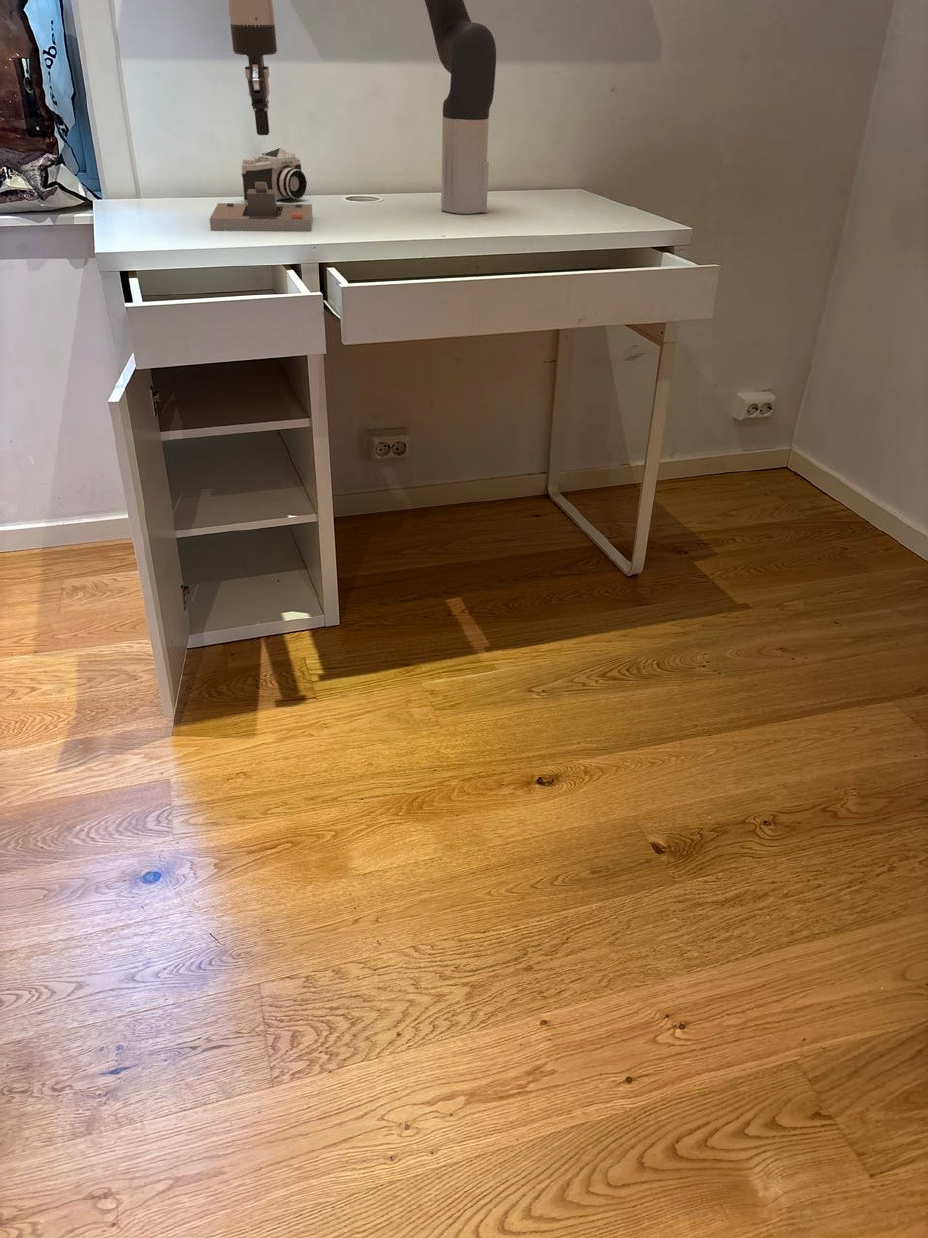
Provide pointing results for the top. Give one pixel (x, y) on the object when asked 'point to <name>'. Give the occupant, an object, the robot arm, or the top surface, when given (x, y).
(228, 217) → the socket plate
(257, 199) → the plug
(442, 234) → the top surface
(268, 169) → the camera
